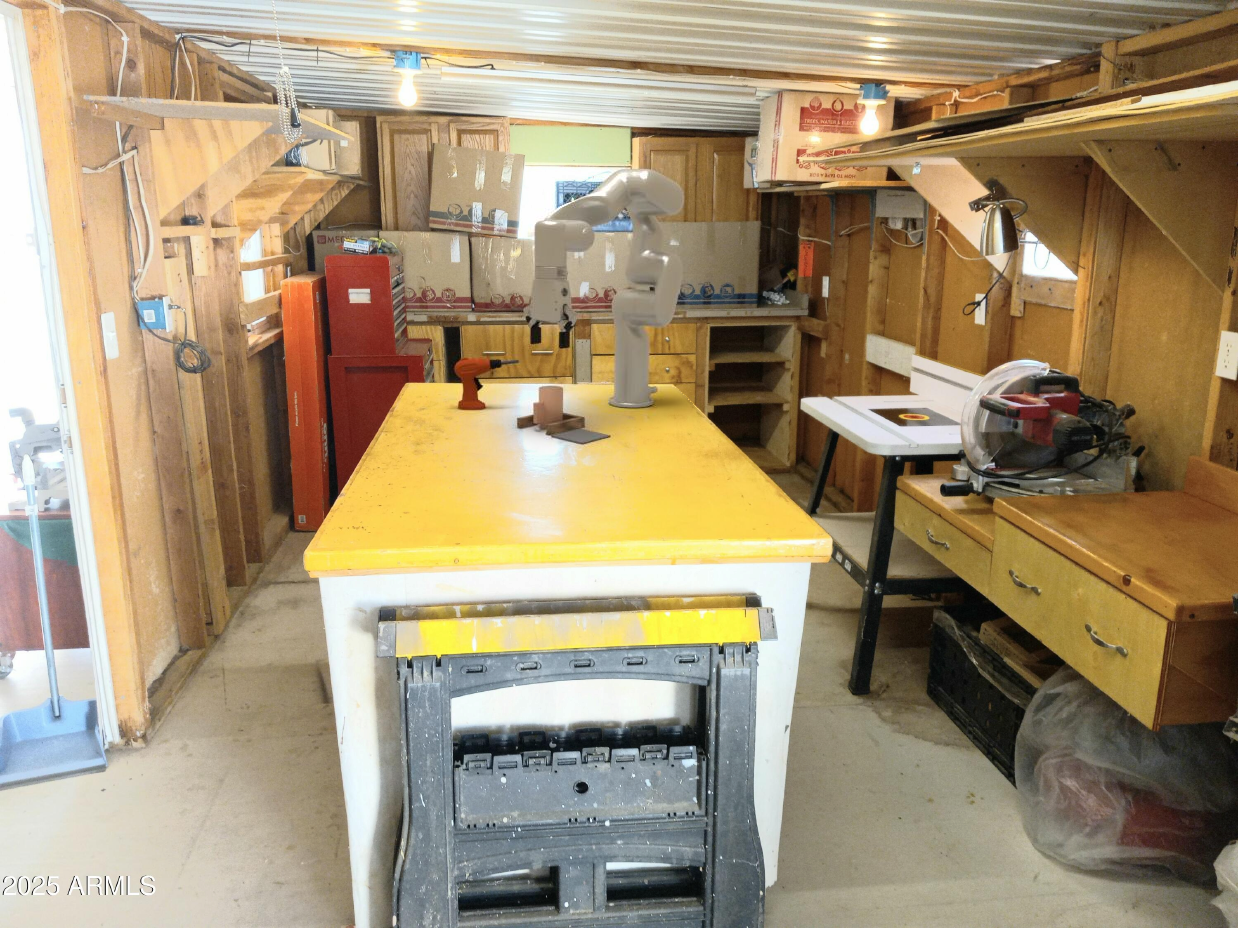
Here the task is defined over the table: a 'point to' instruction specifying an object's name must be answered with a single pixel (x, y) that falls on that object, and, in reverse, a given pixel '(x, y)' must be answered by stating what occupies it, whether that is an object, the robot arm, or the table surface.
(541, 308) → the robot arm
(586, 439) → the mat
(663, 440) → the table surface
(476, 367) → the toy drill
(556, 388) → the pink mug
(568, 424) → the brown wooden u-shaped piece
